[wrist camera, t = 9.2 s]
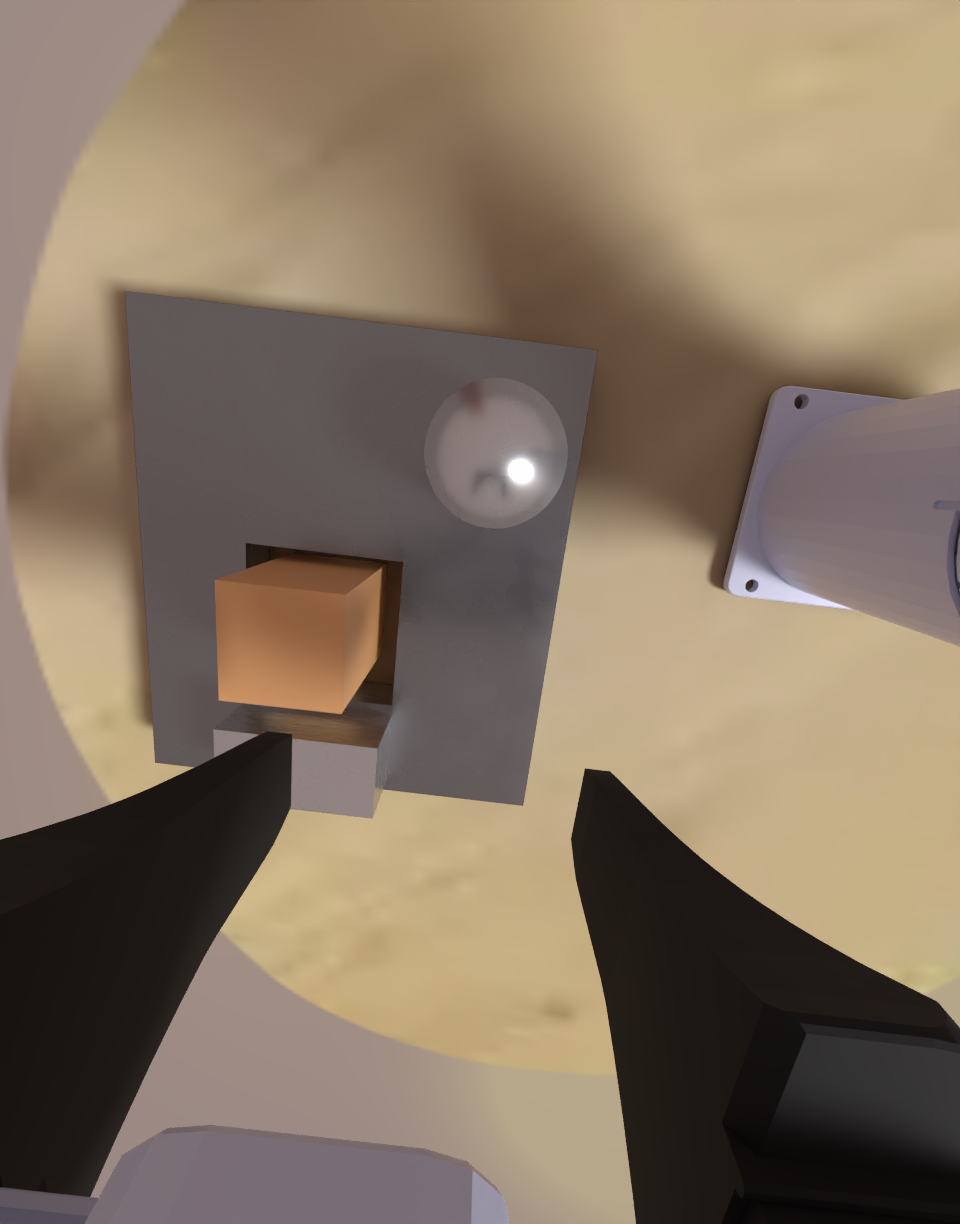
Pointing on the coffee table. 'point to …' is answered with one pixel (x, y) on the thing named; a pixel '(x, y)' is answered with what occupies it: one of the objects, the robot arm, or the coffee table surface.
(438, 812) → the coffee table surface
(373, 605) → the tan rectangular block
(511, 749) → the slotted grey plate
